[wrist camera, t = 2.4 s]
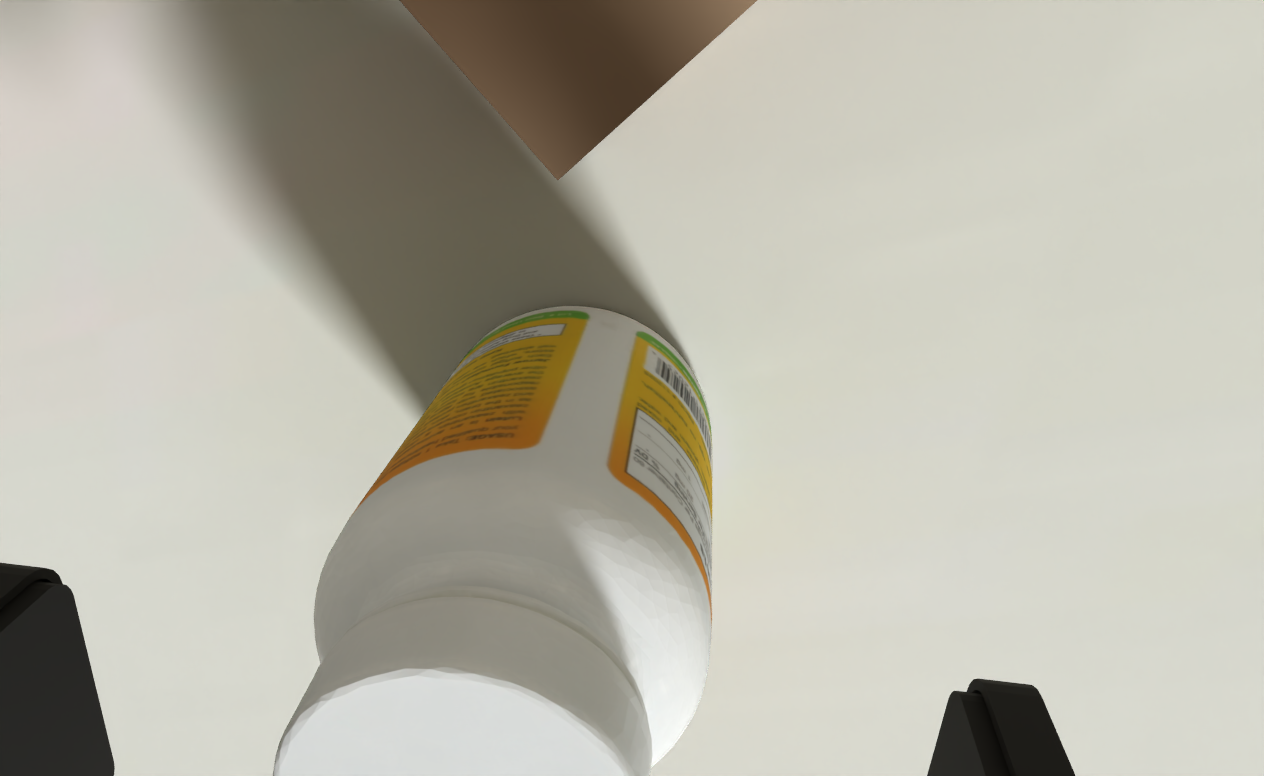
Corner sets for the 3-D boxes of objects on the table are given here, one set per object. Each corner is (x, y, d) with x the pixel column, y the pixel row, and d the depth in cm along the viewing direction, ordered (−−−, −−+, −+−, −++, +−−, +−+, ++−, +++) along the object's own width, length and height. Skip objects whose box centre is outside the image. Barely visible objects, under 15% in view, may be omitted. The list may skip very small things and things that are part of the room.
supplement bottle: (422, 492, 19) (171, 908, 10) (486, 260, 17) (241, 532, 8) (661, 572, 20) (616, 1043, 11) (753, 353, 17) (792, 712, 9)
